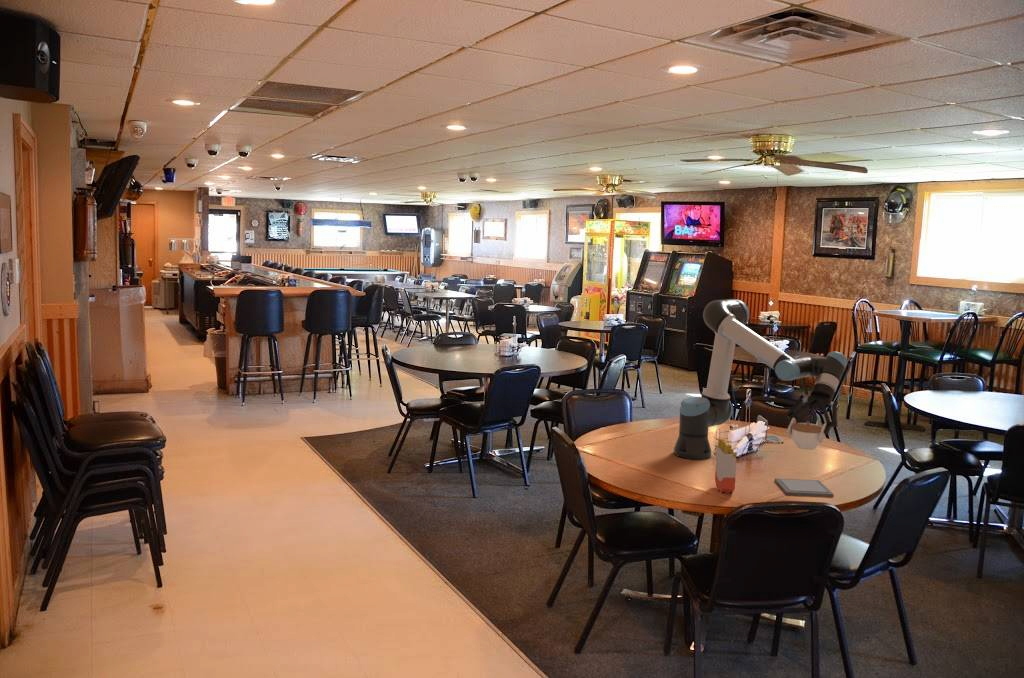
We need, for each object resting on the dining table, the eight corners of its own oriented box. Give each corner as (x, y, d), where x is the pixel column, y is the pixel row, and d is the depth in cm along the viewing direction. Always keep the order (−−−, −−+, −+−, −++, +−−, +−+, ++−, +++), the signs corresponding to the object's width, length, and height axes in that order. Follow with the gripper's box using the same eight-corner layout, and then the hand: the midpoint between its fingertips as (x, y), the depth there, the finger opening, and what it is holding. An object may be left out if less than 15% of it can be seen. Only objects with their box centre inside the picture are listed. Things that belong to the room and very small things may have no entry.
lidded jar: (826, 452, 271) (828, 426, 269) (794, 450, 272) (796, 424, 271) (817, 444, 281) (819, 419, 280) (787, 442, 282) (789, 417, 281)
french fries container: (727, 485, 280) (729, 437, 278) (735, 495, 269) (738, 445, 267) (714, 485, 280) (717, 437, 278) (722, 495, 269) (725, 444, 267)
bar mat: (786, 494, 271) (786, 491, 271) (774, 480, 287) (774, 477, 287) (833, 496, 270) (833, 493, 270) (818, 482, 286) (818, 479, 286)
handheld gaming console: (784, 443, 343) (786, 421, 341) (763, 443, 343) (765, 421, 341) (774, 436, 356) (776, 415, 354) (755, 435, 356) (756, 414, 354)
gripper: (859, 399, 277) (839, 449, 268) (796, 390, 293) (775, 437, 284) (854, 387, 273) (834, 437, 264) (791, 378, 289) (769, 425, 280)
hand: (803, 437), depth 274 cm, fingers closed on lidded jar, 11 cm apart
